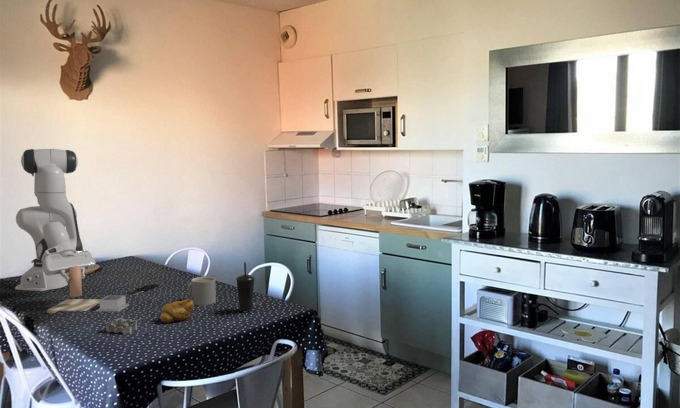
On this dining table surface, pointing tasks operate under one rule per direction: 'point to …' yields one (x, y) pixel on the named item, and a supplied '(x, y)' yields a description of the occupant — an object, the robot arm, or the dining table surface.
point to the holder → (113, 303)
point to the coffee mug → (203, 290)
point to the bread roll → (177, 311)
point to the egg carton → (121, 325)
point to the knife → (143, 289)
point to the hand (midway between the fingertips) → (76, 278)
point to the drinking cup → (245, 290)
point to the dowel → (75, 281)
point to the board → (74, 305)
